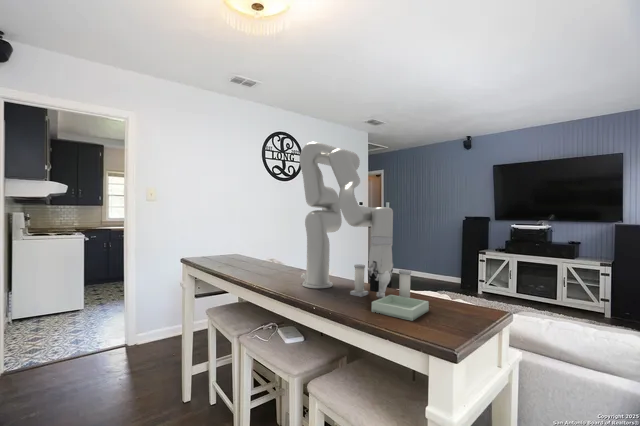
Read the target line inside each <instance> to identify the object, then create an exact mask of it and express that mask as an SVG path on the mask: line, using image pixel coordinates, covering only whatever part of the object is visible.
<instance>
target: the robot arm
mask: <svg viewBox="0 0 640 426" xmlns="http://www.w3.org/2000/svg"><path fill="white" fill-rule="evenodd" d="M299 165H300V170H301V174H302V179H303V190H304V196H305V201H306V205H308V206H309V207H311V208H319V209H315V210H312V211H310V212H308V213H307V215H306V216H305V220H304V225H305V232H306V273H303V272H302V274H301V275H300V278H299V279H304V280H303V282H302V286H303V287H304V288H309V289H328V288H331V287H333V282H332V281H330V239H329V236H328V233H335V232H338V230H340V229H341V226H342V223H343V221H342V215H343V217H344V220H345V221H346V223H347V224H348V225H349V226H350V227H354V228H355V227H356V228H358V227H359V228H363V227H364V228H365V227H366V228H368V227H371V232H370V234H371V236H370V237H371V238H370V239H371V240H370V248H369V253H368V255H369V256H368V268H367V273H368V278H369V291H370V292H374V293H377V292H379V280H378V278H379V275H380V274H383V273H385V272H386V271H388V272H389V273H390V277H391V279H390V282H389V284H388V285H387V287H386V288H392V284H393V283H392V280H393V278H392V277H393V272H394V262H393V250H392V248H393V240H394V239H393V235H394V233H393V232H394V231H393V230H394V229H393V227H394V226H393V225H394V223H393V222H394V221H393V220H394V210H393V209H392V208H391V207H387V206H386V207H385V206H382V207H380V206H376V207H369V206H362V205H361V206H360V205H359V203H358V200H357V198H356V195H355V189H356V188H357V187H358V186H359V185H360V184H361V178H360V176H359V174H358V172H357V171H358V169H359V168H360V165H361V160H360V157H359V156H358V154H357V153H355V152H354V151H351V150H347V149H344V148H338V147H336V146H332V145H329V144H326V143H323V142H319V141H311V142H308V143H306V144H305V145H304V146H303V147H302V149H301V151H300V156H299ZM319 165H325V166H329V167H331V169H332V170H331V171H332V172H333V174H334V177H335V179H336V182H337V184H338V186H339V193H338V192H337V191H336V190H335V189H334V188H333V187H330V186H326V185H325V182H324V176H323V173H322V170H321V168H320V166H319ZM375 274H376V276H375Z"/></svg>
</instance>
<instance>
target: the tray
mask: <svg viewBox="0 0 640 426" xmlns="http://www.w3.org/2000/svg"><path fill="white" fill-rule="evenodd" d="M429 303H430V301H428V300H424V299H417V298H413V297H410V298H407V297H402V296H399V295H395V294H388V295H385V297H383V298H378V299H375V300H373V301H371V312H372V313H375V312H376V313H377V314H379V313H380V315H385V316H389V317H393V318H397V319H398V318H399V319H401V320H406V321H411V322H413V321H414V320H416V319H418V318H420V317H421V316H423V315H424V314H426V313H428V312H429V309H430V307H429V305H430V304H429ZM376 313H375V314H376Z"/></svg>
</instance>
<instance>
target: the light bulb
mask: <svg viewBox="0 0 640 426" xmlns="http://www.w3.org/2000/svg"><path fill="white" fill-rule="evenodd" d="M375 276H376V274H375ZM390 279H391V277H390V273H389V272H388V271H386V272H385V273H383V274H380V275H379V278H378V280H379V292H376V297H377V298H378V299H380V298H383V297H386V290H387V288H388V287H387V285H388V284H389V282H390Z"/></svg>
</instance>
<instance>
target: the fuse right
mask: <svg viewBox="0 0 640 426" xmlns="http://www.w3.org/2000/svg"><path fill="white" fill-rule="evenodd" d="M398 274H399V279H398V281H399V283H398V284H399V285H398V286H399V289H398V290H399V292H398V296H402V297H407V298H411V274H412V270H408V269H407V270H406V269H400V270H398Z"/></svg>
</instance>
